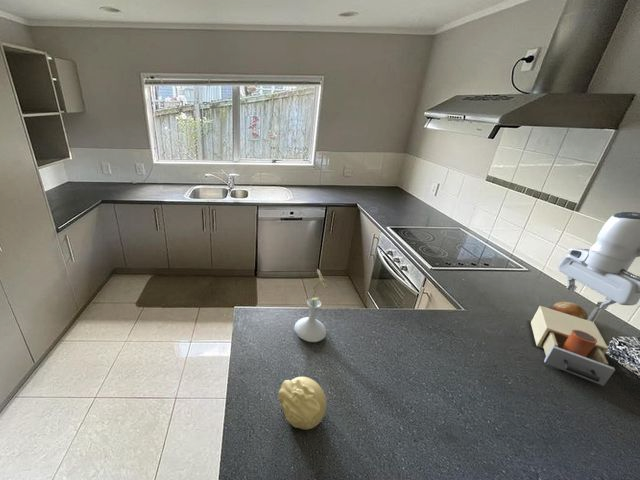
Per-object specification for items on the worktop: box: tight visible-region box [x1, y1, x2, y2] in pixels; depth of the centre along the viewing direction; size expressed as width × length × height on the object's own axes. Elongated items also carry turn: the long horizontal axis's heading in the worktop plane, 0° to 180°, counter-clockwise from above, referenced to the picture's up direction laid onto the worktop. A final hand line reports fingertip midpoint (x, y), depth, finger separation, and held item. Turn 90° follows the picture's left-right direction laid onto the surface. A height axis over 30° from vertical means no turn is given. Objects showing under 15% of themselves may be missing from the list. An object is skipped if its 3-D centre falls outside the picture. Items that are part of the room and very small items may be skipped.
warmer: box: [530, 305, 609, 356], centre depth 101 cm, size 16×15×9 cm
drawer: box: [542, 331, 616, 387], centre depth 92 cm, size 19×13×7 cm
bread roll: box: [551, 301, 589, 320], centre depth 116 cm, size 10×10×8 cm
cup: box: [561, 330, 597, 358], centre depth 92 cm, size 6×6×10 cm
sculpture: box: [277, 376, 327, 430], centre depth 73 cm, size 12×12×11 cm
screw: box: [587, 306, 602, 323], centre depth 107 cm, size 13×5×5 cm
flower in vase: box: [294, 269, 329, 343], centre depth 99 cm, size 13×11×25 cm
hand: (584, 298), depth 92 cm, fingers open, 8 cm apart
